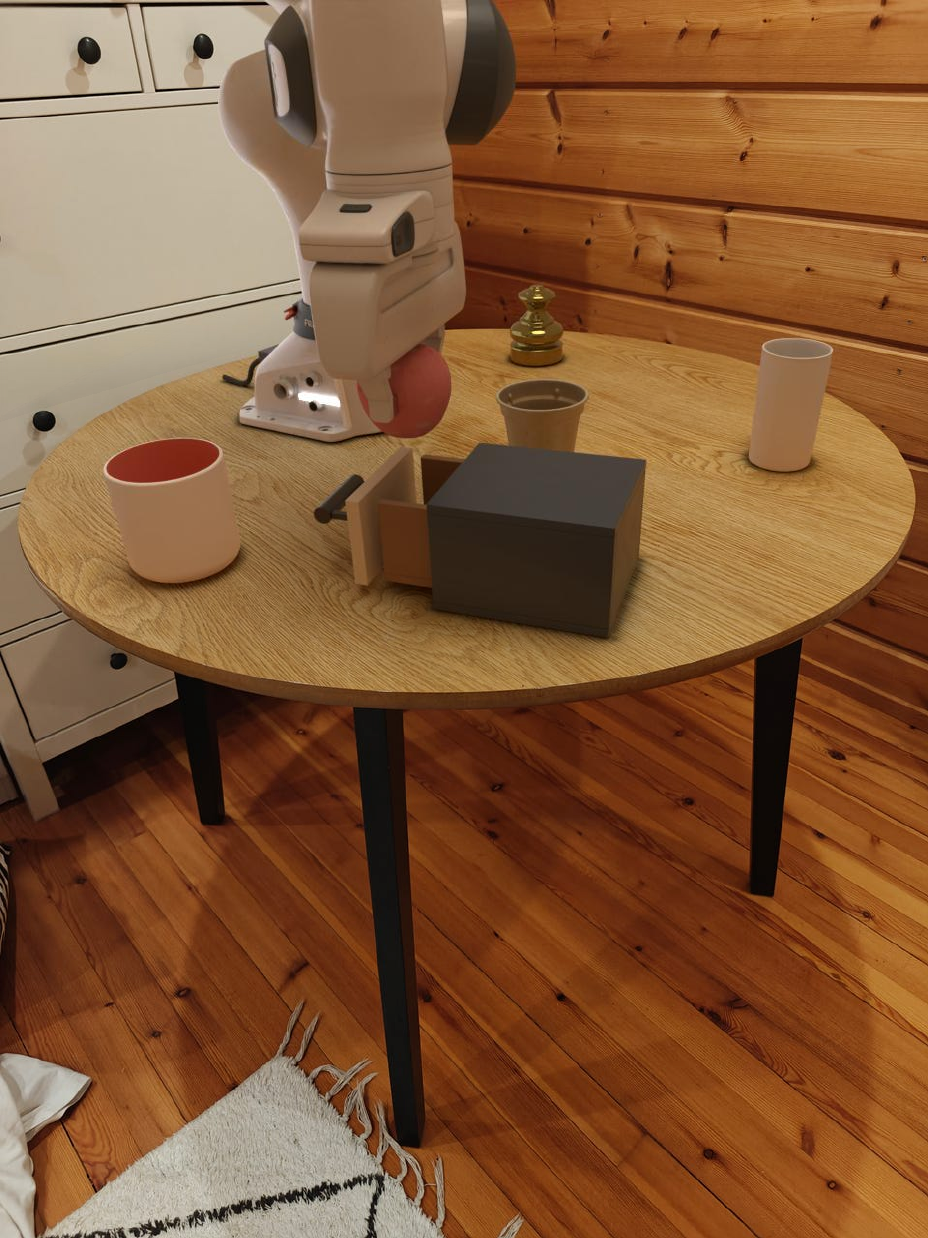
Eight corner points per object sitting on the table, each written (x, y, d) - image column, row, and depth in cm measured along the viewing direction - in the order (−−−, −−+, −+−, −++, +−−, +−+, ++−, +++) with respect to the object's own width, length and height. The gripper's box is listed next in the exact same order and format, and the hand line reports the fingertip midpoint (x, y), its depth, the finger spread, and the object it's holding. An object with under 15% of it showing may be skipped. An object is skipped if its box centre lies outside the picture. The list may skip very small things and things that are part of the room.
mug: (821, 471, 93) (844, 356, 87) (757, 475, 93) (775, 360, 87) (788, 434, 102) (806, 327, 95) (729, 437, 102) (743, 330, 95)
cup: (144, 539, 87) (118, 441, 81) (248, 531, 87) (230, 433, 82) (119, 593, 78) (89, 488, 73) (235, 585, 79) (214, 479, 73)
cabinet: (433, 609, 74) (426, 504, 69) (482, 539, 84) (479, 442, 79) (608, 638, 70) (615, 528, 65) (638, 560, 80) (646, 459, 74)
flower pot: (484, 485, 94) (482, 405, 89) (512, 450, 101) (511, 375, 96) (573, 496, 91) (575, 414, 86) (594, 459, 98) (598, 382, 93)
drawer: (308, 576, 78) (296, 494, 73) (364, 517, 87) (356, 441, 82) (507, 608, 72) (505, 521, 68) (544, 542, 81) (545, 461, 77)
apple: (387, 460, 69) (378, 356, 65) (348, 430, 75) (337, 333, 70) (470, 439, 72) (467, 338, 68) (427, 412, 78) (421, 317, 73)
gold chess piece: (511, 351, 131) (511, 279, 126) (562, 350, 131) (564, 278, 125) (508, 367, 125) (507, 293, 120) (562, 367, 124) (564, 292, 119)
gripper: (407, 188, 73) (419, 357, 81) (283, 238, 57) (313, 443, 65) (481, 188, 71) (486, 361, 79) (374, 241, 55) (393, 452, 63)
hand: (407, 399), depth 72 cm, fingers closed on apple, 7 cm apart
